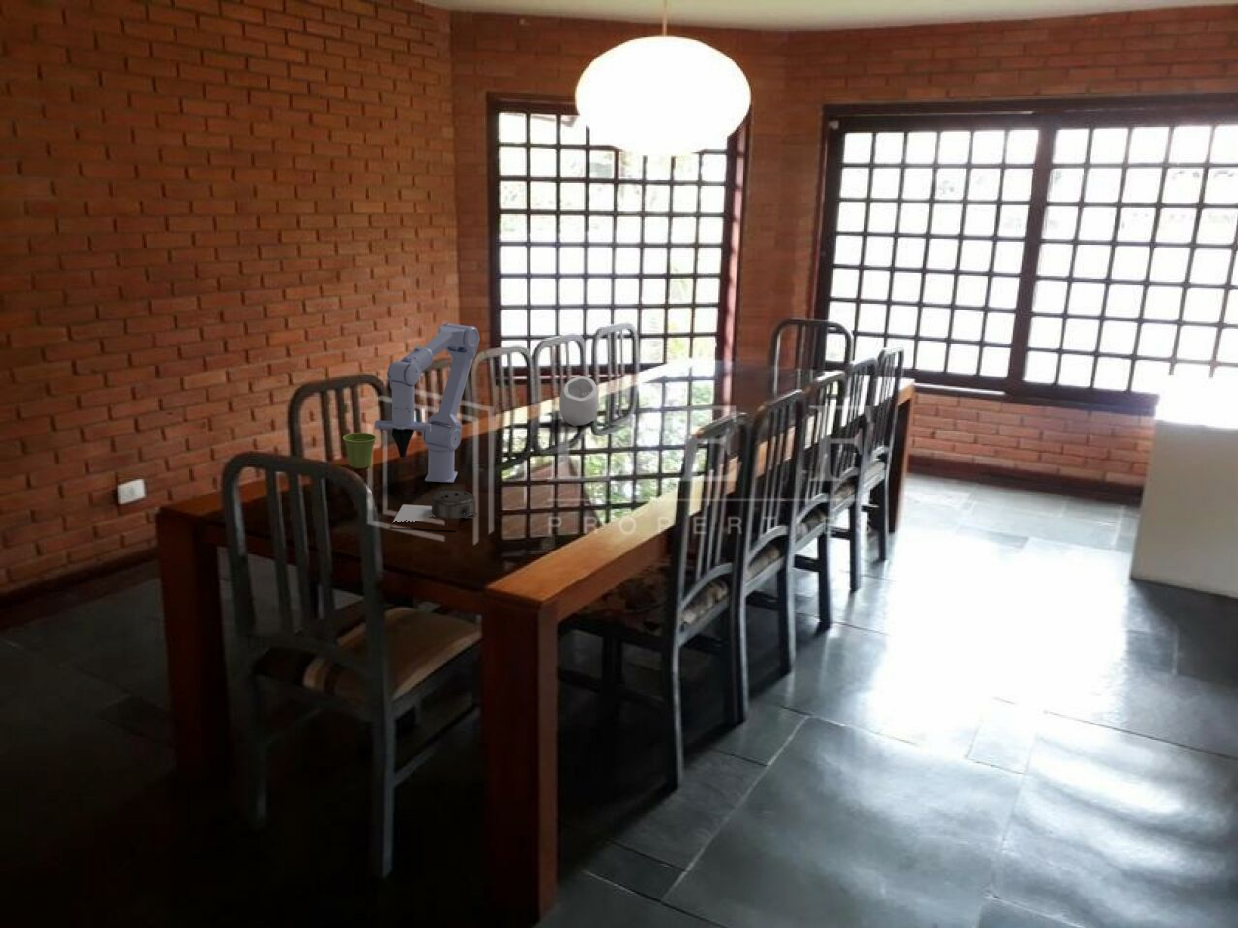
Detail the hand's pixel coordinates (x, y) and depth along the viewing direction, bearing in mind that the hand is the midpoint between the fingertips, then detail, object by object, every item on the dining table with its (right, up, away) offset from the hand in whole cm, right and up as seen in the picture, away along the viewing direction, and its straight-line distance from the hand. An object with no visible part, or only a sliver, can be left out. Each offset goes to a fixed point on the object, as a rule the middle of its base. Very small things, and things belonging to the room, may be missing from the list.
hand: (402, 456), depth 252 cm
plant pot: (-18, -3, +24) cm, 30 cm away
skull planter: (+43, +13, +90) cm, 101 cm away
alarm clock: (+11, -10, -6) cm, 16 cm away
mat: (+10, -16, -14) cm, 23 cm away
